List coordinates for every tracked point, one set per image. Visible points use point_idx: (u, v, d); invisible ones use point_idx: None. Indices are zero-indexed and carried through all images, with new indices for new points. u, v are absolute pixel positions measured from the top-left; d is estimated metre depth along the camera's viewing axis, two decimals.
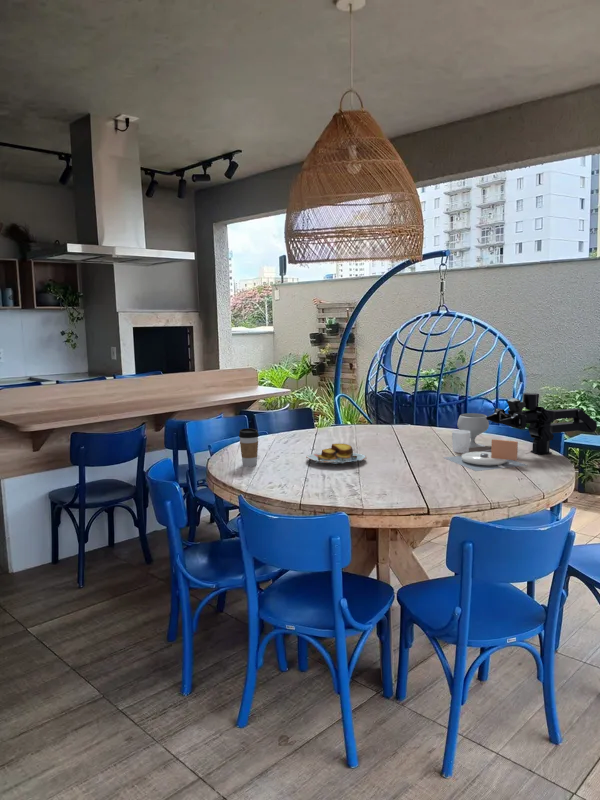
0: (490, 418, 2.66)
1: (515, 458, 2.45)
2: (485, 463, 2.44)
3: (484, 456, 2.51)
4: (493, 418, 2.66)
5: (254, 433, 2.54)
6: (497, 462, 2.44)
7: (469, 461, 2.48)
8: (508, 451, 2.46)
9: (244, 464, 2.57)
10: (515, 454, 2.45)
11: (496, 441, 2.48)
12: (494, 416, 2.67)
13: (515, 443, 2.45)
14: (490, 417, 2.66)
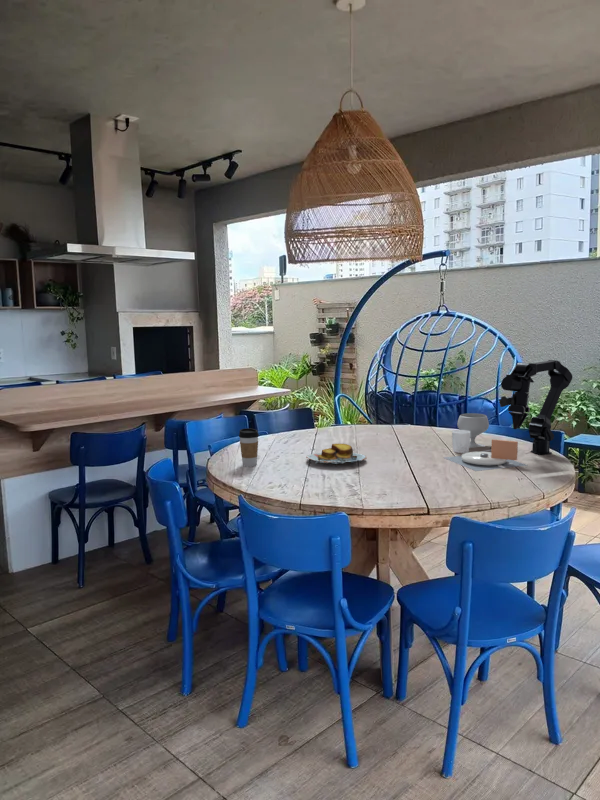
0: (519, 424, 2.64)
1: (515, 458, 2.45)
2: (485, 463, 2.44)
3: (484, 456, 2.51)
4: None
5: (254, 433, 2.54)
6: (497, 462, 2.44)
7: (469, 461, 2.48)
8: (508, 451, 2.46)
9: (244, 464, 2.57)
10: (515, 454, 2.45)
11: (496, 441, 2.48)
12: None
13: (515, 443, 2.45)
14: None
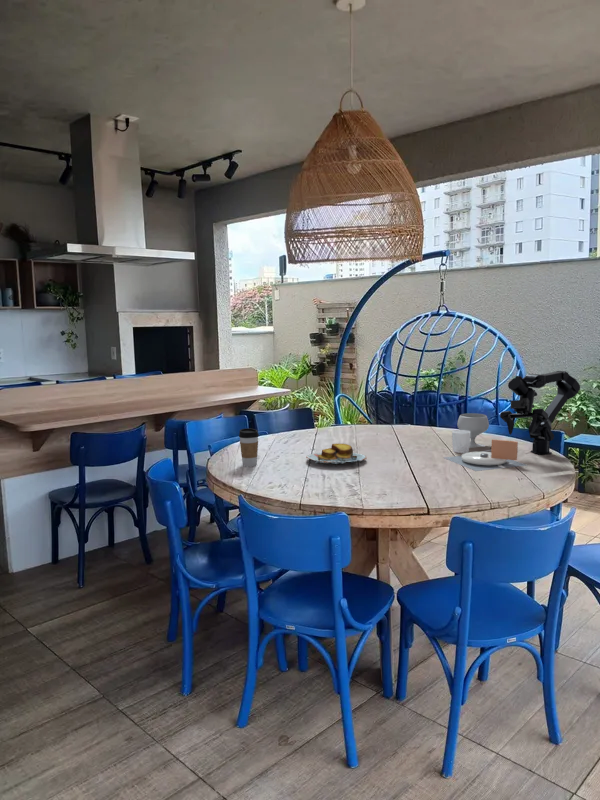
0: (511, 430, 2.59)
1: (515, 458, 2.45)
2: (485, 463, 2.44)
3: (484, 456, 2.51)
4: (511, 427, 2.60)
5: (254, 433, 2.54)
6: (497, 462, 2.44)
7: (469, 461, 2.48)
8: (508, 451, 2.46)
9: (244, 464, 2.57)
10: (515, 454, 2.45)
11: (496, 441, 2.48)
12: (510, 425, 2.59)
13: (515, 443, 2.45)
14: (510, 430, 2.59)
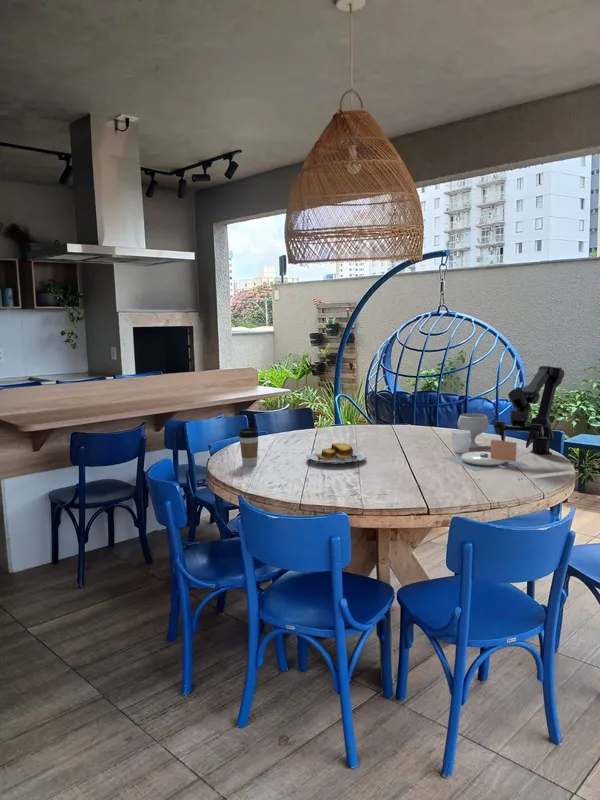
0: None
1: (513, 459, 2.44)
2: (481, 463, 2.44)
3: (483, 456, 2.51)
4: (504, 438, 2.50)
5: (254, 433, 2.54)
6: (494, 462, 2.44)
7: (467, 460, 2.49)
8: (507, 452, 2.45)
9: (244, 464, 2.57)
10: (513, 455, 2.44)
11: (495, 441, 2.48)
12: (504, 436, 2.50)
13: (513, 444, 2.43)
14: (503, 440, 2.48)
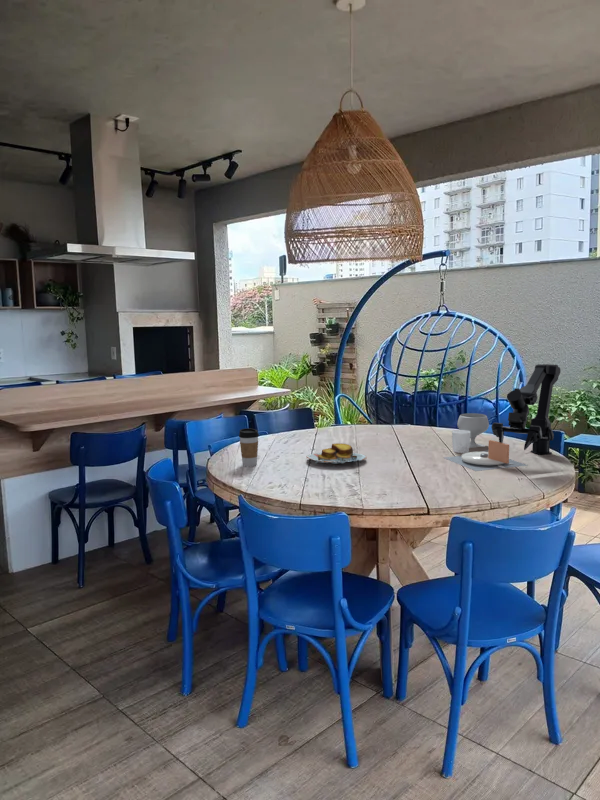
0: None
1: (505, 461, 2.41)
2: (472, 462, 2.46)
3: (482, 456, 2.51)
4: (502, 440, 2.47)
5: (254, 433, 2.54)
6: (485, 462, 2.44)
7: (462, 458, 2.52)
8: (500, 453, 2.43)
9: (244, 464, 2.57)
10: (505, 457, 2.41)
11: (492, 442, 2.47)
12: (502, 437, 2.47)
13: (505, 446, 2.40)
14: (501, 442, 2.46)
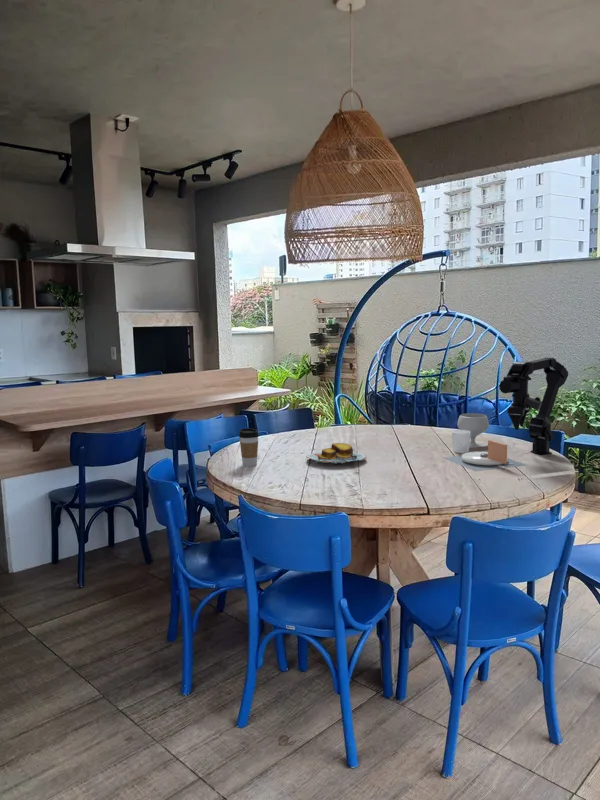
0: None
1: (503, 461, 2.41)
2: (471, 461, 2.47)
3: (482, 456, 2.52)
4: None
5: (254, 433, 2.54)
6: (483, 462, 2.44)
7: (462, 458, 2.53)
8: (498, 454, 2.43)
9: (244, 464, 2.57)
10: (503, 457, 2.40)
11: (491, 442, 2.47)
12: None
13: (503, 446, 2.40)
14: None
